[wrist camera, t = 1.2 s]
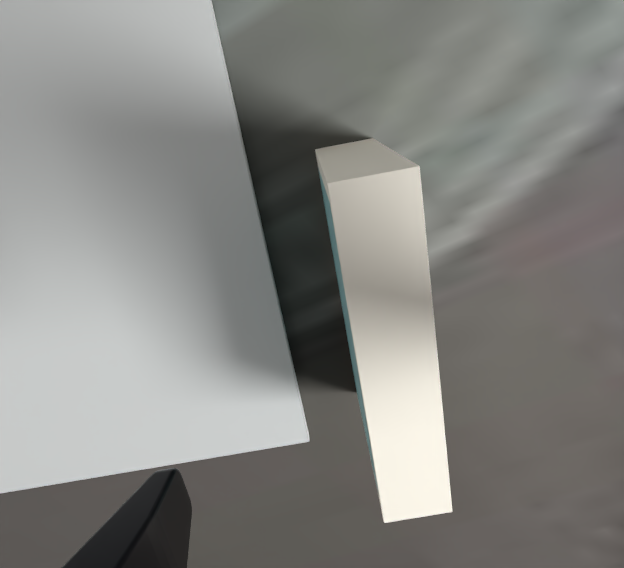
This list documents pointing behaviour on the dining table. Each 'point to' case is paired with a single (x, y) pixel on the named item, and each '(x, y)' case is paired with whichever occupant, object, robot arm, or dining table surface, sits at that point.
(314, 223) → the dining table surface
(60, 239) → the mat
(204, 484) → the dining table surface
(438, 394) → the block
